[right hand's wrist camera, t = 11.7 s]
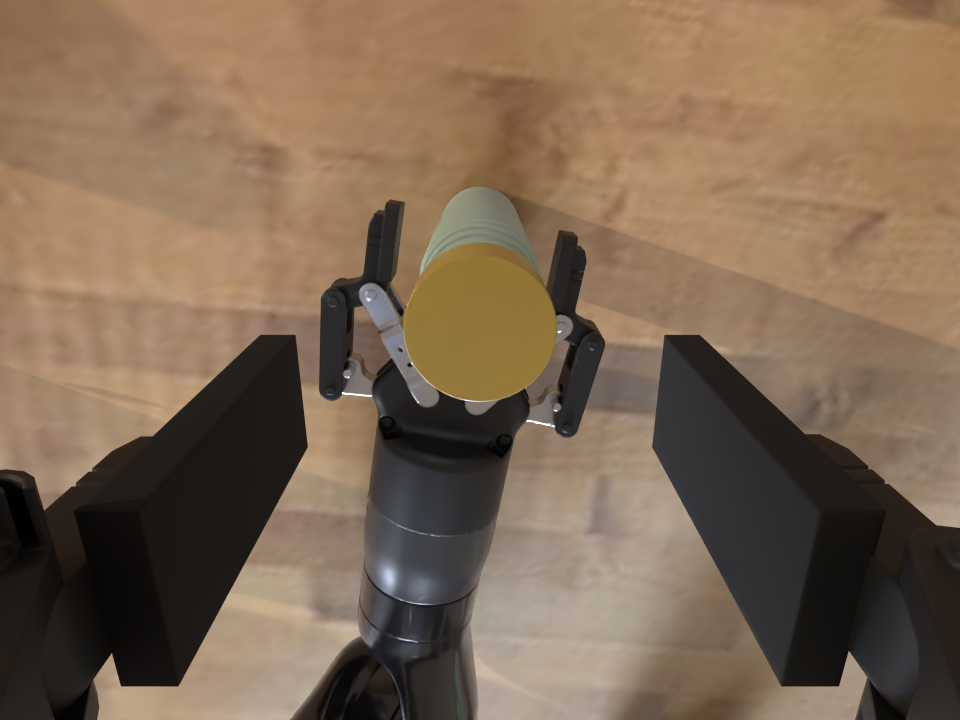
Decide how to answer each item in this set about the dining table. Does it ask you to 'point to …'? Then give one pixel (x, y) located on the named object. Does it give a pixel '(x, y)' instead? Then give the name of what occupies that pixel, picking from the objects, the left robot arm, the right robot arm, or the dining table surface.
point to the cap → (480, 323)
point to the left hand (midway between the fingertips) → (482, 217)
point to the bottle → (480, 225)
